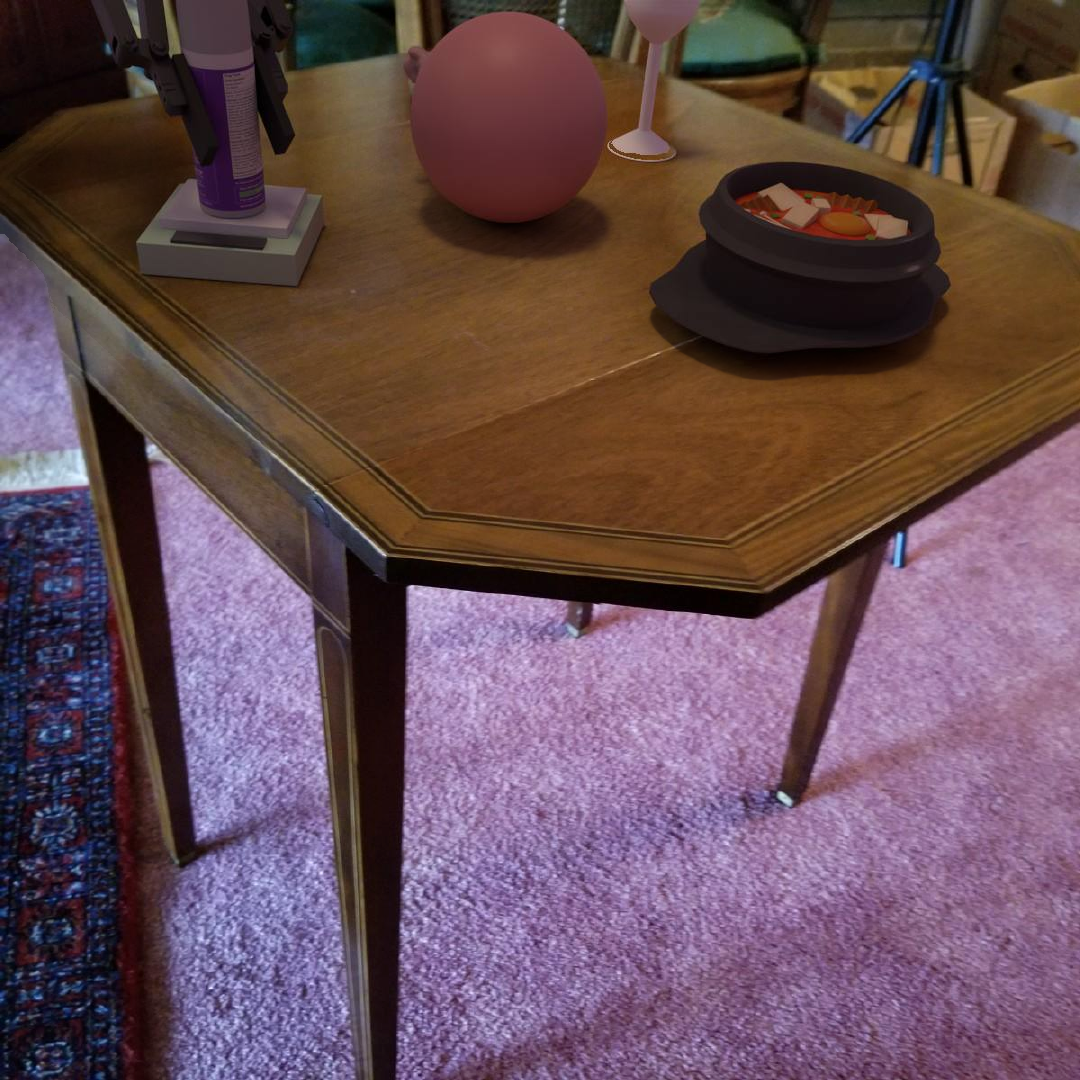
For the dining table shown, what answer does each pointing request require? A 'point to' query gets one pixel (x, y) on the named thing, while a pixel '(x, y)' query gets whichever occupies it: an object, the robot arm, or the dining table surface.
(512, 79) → the balloon
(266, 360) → the dining table surface
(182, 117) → the robot arm
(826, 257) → the casserole
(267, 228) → the scale
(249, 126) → the container
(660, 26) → the champagne flute
